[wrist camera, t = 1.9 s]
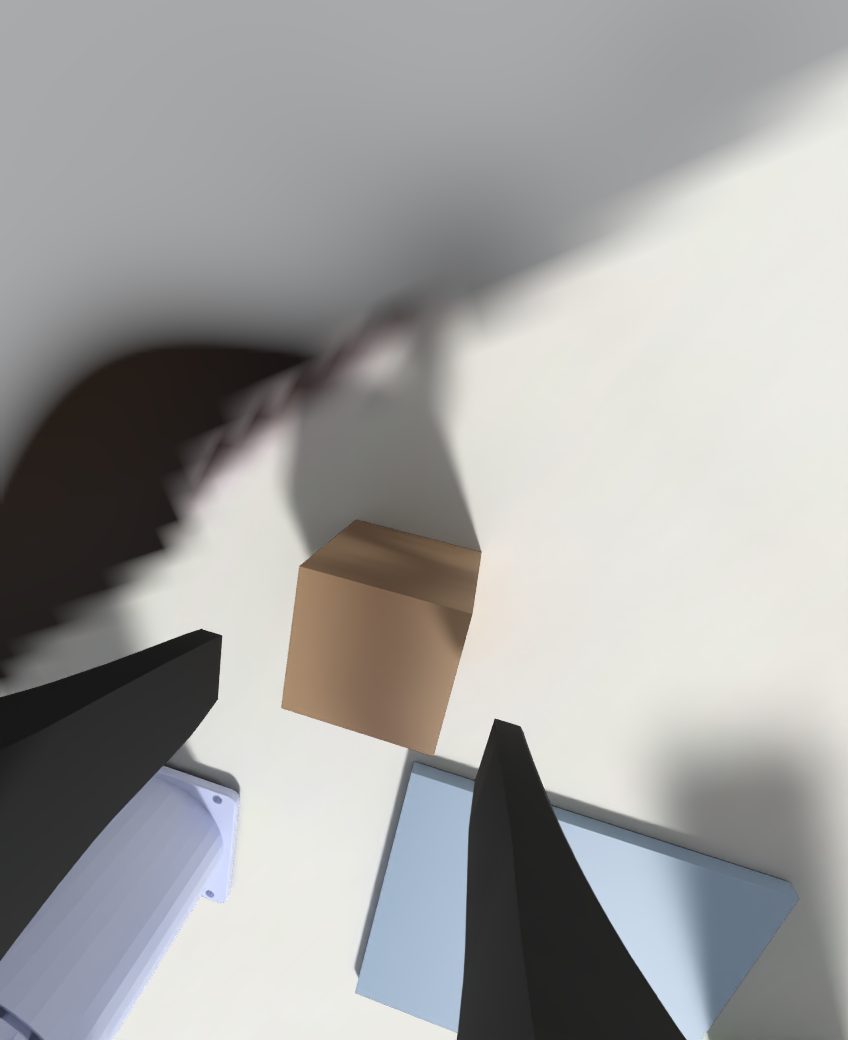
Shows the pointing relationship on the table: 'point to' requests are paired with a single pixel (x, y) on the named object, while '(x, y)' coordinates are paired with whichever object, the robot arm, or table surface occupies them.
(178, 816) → the robot arm
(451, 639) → the walnut cube
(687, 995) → the slate board
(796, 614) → the table surface
